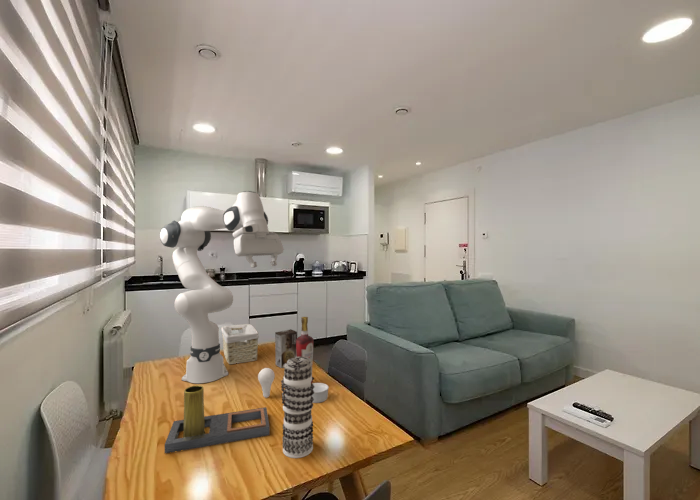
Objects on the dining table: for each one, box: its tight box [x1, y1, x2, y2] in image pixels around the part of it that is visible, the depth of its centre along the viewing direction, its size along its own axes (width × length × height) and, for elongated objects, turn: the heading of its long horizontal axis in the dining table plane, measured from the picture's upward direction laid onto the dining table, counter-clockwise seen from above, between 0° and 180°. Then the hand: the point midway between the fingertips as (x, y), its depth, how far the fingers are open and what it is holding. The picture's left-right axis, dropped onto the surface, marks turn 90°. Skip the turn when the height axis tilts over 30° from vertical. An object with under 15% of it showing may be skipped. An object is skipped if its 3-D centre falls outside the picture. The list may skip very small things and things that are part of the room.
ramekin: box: [312, 382, 330, 404], centre depth 122 cm, size 9×9×4 cm
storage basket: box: [221, 323, 260, 365], centre depth 171 cm, size 24×16×15 cm
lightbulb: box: [257, 367, 275, 399], centre depth 123 cm, size 6×6×11 cm
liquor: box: [296, 316, 314, 383], centre depth 135 cm, size 7×7×28 cm
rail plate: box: [164, 406, 270, 454], centre depth 100 cm, size 13×28×3 cm, turn 109°
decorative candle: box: [280, 357, 315, 459], centre depth 91 cm, size 9×9×25 cm
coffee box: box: [274, 328, 298, 369], centre depth 159 cm, size 9×6×16 cm
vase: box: [182, 385, 206, 438], centre depth 97 cm, size 6×6×14 cm
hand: (264, 266), depth 121 cm, fingers open, 8 cm apart
